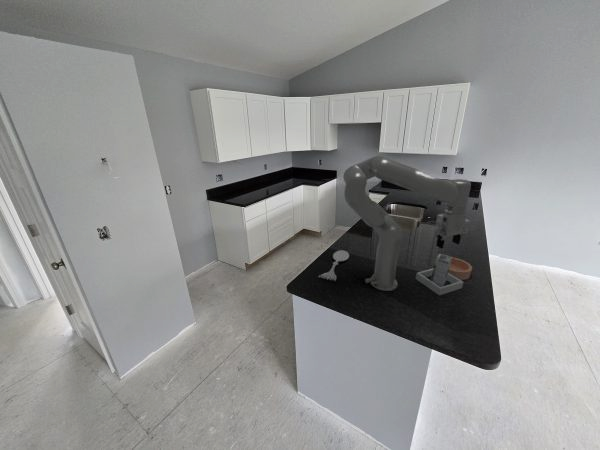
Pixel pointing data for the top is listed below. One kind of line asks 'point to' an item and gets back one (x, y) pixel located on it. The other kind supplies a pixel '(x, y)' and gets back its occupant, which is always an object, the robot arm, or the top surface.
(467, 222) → the supplement box
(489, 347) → the top surface
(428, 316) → the top surface
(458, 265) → the bowl
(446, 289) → the parts tray
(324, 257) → the top surface
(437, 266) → the syrup box
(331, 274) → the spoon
